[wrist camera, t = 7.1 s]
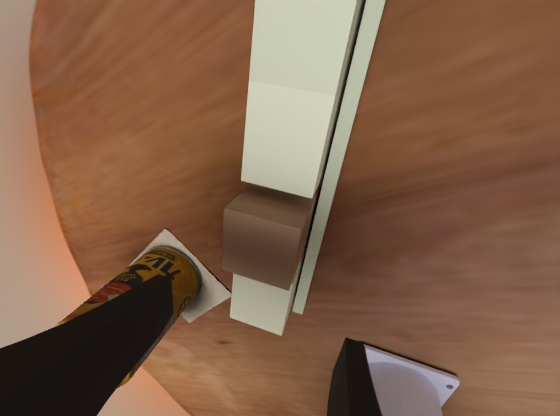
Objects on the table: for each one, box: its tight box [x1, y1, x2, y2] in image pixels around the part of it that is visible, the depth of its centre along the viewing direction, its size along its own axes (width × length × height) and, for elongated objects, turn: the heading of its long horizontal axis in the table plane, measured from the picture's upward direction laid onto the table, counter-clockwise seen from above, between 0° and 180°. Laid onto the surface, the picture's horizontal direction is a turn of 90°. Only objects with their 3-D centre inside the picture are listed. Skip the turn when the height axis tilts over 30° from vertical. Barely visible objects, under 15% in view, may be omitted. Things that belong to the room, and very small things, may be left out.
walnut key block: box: [221, 183, 320, 291], centre depth 17 cm, size 4×4×6 cm
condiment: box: [56, 229, 232, 389], centre depth 21 cm, size 7×8×12 cm
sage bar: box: [230, 0, 386, 336], centre depth 16 cm, size 21×5×4 cm, turn 171°
